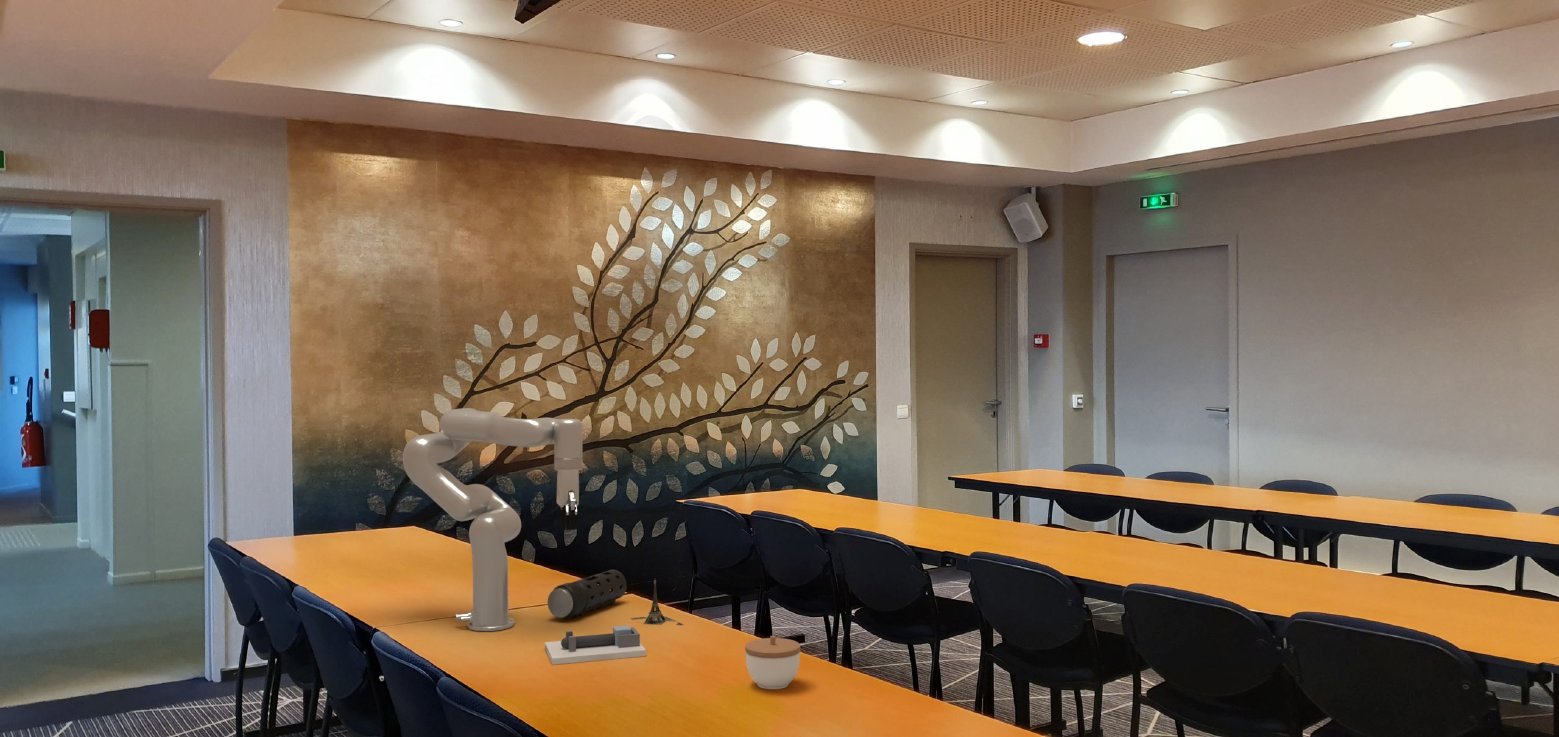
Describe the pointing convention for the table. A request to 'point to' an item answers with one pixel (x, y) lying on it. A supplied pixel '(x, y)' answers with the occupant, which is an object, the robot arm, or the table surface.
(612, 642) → the cable
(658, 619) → the eiffel tower figurine
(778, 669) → the lidded bowl
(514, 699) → the table surface
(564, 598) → the muzzle brake
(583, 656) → the cable board
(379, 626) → the table surface
